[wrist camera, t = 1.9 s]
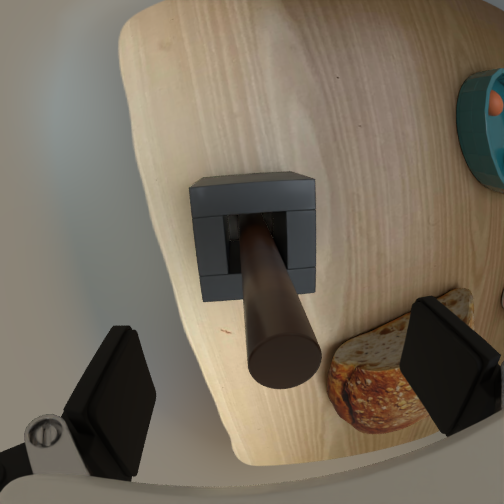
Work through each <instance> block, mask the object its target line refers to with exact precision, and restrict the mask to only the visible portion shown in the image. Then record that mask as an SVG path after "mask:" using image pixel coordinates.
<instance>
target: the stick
mask: <svg viewBox="0 0 504 504" xmlns="http://www.w3.org/2000/svg"><path fill="white" fill-rule="evenodd" d="M238 227H239V243H240V259H241V275H242V290H243V305H244V319H245V334H246V347H247V361H248V369H249V372H250V374H251V376H252V377H253V378H254V379H255V380H256V381H257V382H258V383H260V384H261V385H263V386H266V387H268V388H273V389H287V388H292V387H295V386H298V385H300V384H303V383H304V382H306V381H307V380H309V379H310V378H311V377H312V376H313V375H314V374H315V373H316V371H317V370H318V368H319V366H320V363H321V359H322V353H321V349H320V346H319V344H318V342H317V339H316V337H315V334H314V332H313V330H312V327H311V325H310V323H309V320H308V318H307V316H306V313H305V311H304V309H303V306H302V304H301V302H300V299H299V297H298V295H297V292H296V290H295V288H294V285H293V283H292V281H291V278H290V276H289V274H288V272H287V269H286V267H285V265H284V263H283V260H282V258H281V256H280V253H279V251H278V249H277V247H276V244H275V242H274V240H273V238H272V236H271V233H270V231H269V229H268V227H267V224H266V222H265V220H264V218H263V216H262V213H249V214H239V215H238Z"/></svg>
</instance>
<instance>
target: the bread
mask: <svg viewBox="0 0 504 504" xmlns="http://www.w3.org/2000/svg"><path fill="white" fill-rule="evenodd" d="M437 300H438V301H440V302H441V303H442V304H443V305H444V306H446V307H447V308H448V309H449V310H450V311H452V312H453V313H454V314H455V315H456V316H458V317H459V318H460V319H461V320H462V321H463V322H465V323H466V324H467V325H468V326H469V327H470V328H472V329H473V330H474V300H473V296H472V293H471V291H470V290H469V289H466V288H457V289H453V290H451V291H450V292H448V293H446V294H445V295H443V296H441V297H439V298H438V299H437ZM410 314H411V312H409V313H407V314H405V315H403V316H401V317H399V318H397V319H395V320H393V321H391V322H389V323H387V324H385V325H383V326H381V327H379V328H377V329H375V330H373V331H371V332H368V333H365V334H362V335H359V336H357V337H355V338H352V339H350V340H348V341H346V342H345V343H343V344H342V345H341V346H340V347H339V348H338V349H337V351H336V352H335V354H334V357H333V360H332V362H331V367H330V369H329V372H328V382H327V393H328V396H329V399H330V401H331V402H332V404H333V406H334V408H335V410H336V412H337V413H338V415H339V416H340V417H341V418H342V419H344V420H345V421H347V422H348V423H350V424H351V425H352V426H353V427H354V428H355V429H357V430H358V431H360V432H362V433H366V434H383V433H388V432H393V431H397V430H400V429H403V428H405V427H408V426H410V425H412V424H414V423H416V422H418V421H420V420H422V419H424V418H426V417H427V416H429V413H428V412H427V410H426V409H425V407H424V406H423V404H422V403H421V401H420V400H419V398H418V397H417V395H416V394H415V392H414V391H413V389H412V388H411V386H410V385H409V383H408V382H407V380H406V379H405V377H404V376H403V375H402V373H401V371H400V367H399V363H400V359H401V355H402V351H403V347H404V342H405V338H406V333H407V329H408V324H409V319H410Z"/></svg>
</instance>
